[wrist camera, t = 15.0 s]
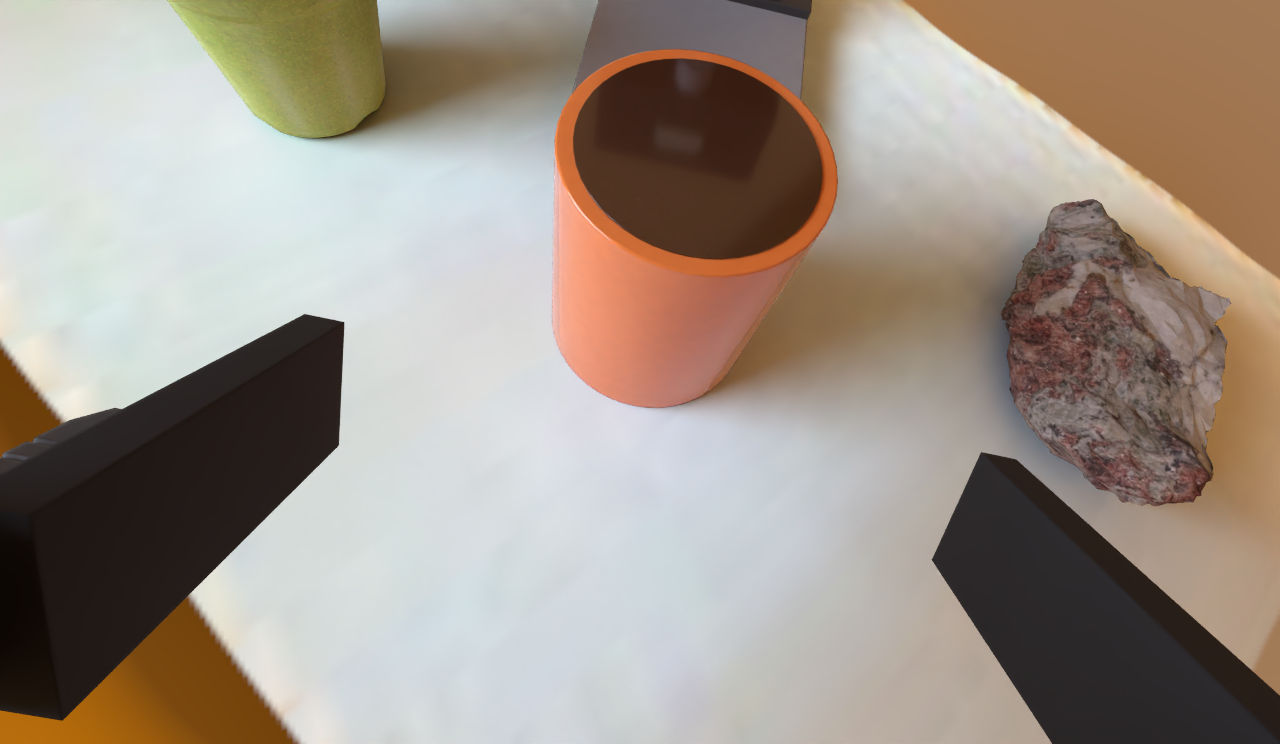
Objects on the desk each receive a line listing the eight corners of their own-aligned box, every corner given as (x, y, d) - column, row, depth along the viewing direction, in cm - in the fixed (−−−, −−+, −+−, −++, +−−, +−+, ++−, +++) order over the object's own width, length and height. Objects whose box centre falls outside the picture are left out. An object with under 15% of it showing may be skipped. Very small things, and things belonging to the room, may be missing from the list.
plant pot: (411, 14, 32) (367, -192, 24) (437, 157, 29) (396, -27, 21) (207, 25, 30) (86, -196, 22) (210, 182, 27) (69, -12, 19)
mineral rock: (1018, 208, 32) (1084, 147, 28) (1164, 279, 32) (1253, 226, 28) (943, 450, 26) (1013, 416, 22) (1122, 543, 26) (1227, 525, 22)
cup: (534, 251, 28) (529, 55, 18) (710, 227, 29) (784, 38, 20) (575, 426, 25) (591, 297, 15) (766, 387, 26) (883, 251, 17)
